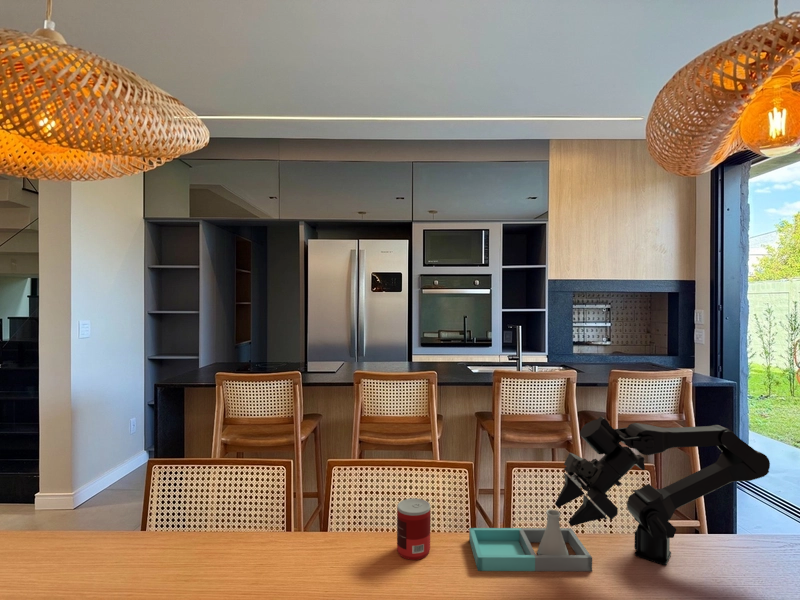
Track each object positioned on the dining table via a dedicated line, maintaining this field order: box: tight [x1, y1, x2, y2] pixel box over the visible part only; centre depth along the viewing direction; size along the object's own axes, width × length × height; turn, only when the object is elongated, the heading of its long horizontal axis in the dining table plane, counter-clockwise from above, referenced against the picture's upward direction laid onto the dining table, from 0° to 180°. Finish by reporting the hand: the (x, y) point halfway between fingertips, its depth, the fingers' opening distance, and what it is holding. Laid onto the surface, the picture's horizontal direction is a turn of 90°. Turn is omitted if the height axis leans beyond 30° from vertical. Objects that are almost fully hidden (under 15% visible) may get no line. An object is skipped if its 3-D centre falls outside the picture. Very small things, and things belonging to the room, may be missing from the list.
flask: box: [536, 509, 570, 555], centre depth 112 cm, size 7×7×10 cm
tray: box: [468, 527, 593, 572], centre depth 112 cm, size 25×13×3 cm, turn 90°
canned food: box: [396, 498, 432, 561], centre depth 113 cm, size 8×8×11 cm
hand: (562, 514), depth 112 cm, fingers open, 9 cm apart
